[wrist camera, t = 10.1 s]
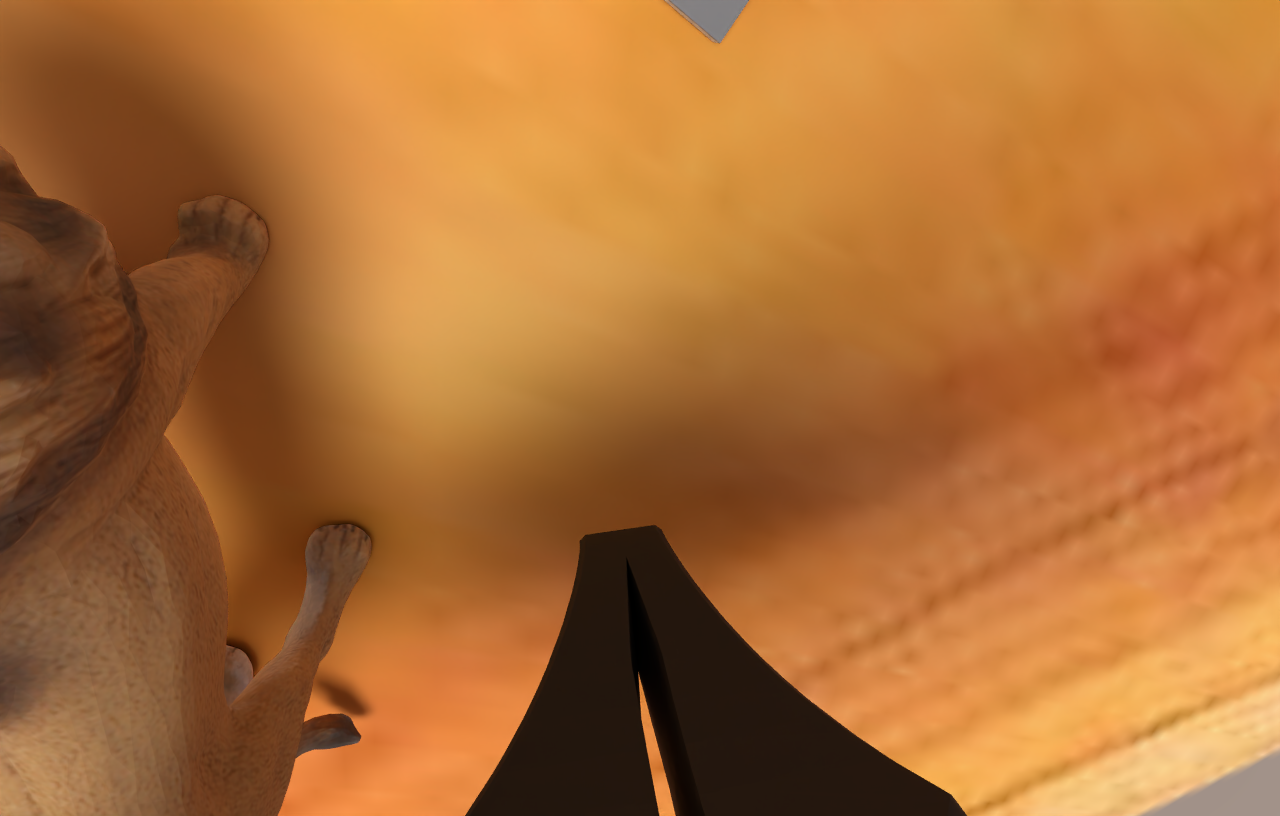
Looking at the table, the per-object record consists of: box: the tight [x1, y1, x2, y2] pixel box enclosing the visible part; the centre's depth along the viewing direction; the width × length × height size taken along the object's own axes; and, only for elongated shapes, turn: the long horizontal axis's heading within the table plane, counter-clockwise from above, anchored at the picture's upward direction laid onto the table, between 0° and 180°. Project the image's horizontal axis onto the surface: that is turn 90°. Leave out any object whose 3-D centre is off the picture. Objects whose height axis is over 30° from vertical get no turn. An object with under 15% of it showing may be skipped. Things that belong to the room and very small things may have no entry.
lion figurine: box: [0, 145, 372, 816], centre depth 9 cm, size 15×5×9 cm, turn 11°
